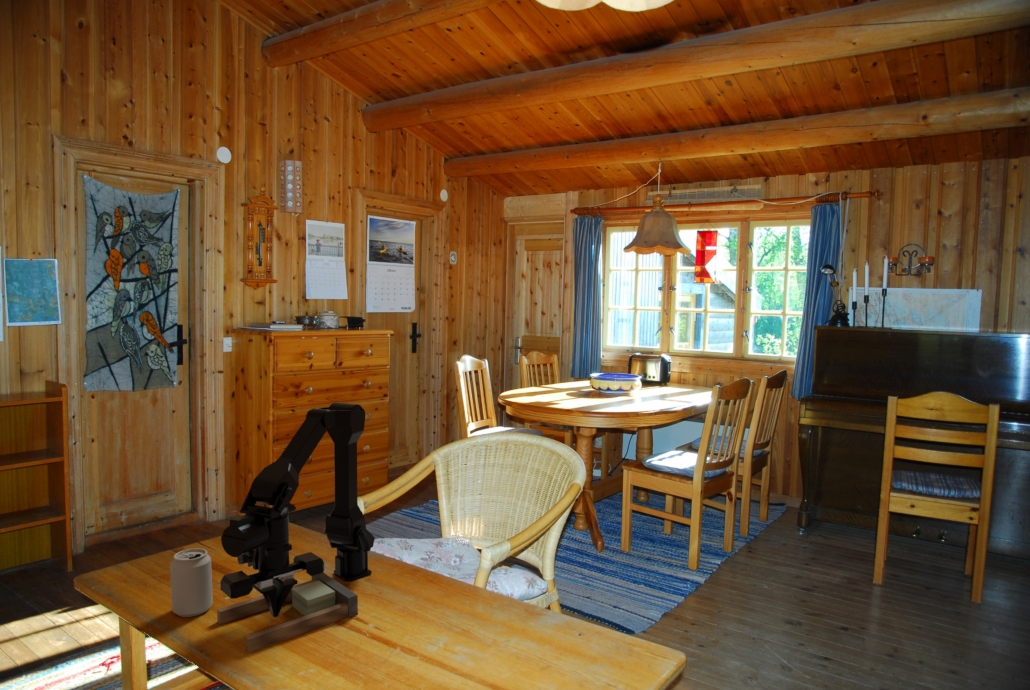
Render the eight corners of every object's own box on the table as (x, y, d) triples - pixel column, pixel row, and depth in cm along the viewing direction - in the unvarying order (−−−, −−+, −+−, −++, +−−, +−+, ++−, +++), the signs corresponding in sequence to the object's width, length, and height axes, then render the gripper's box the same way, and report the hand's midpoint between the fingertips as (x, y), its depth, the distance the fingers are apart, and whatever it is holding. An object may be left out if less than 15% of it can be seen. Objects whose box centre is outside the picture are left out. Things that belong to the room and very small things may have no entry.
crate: (319, 598, 147) (319, 580, 146) (335, 610, 141) (335, 591, 141) (292, 607, 142) (291, 588, 142) (307, 620, 137) (307, 600, 137)
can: (197, 620, 136) (194, 562, 135) (163, 617, 138) (161, 558, 137) (220, 603, 143) (218, 547, 142) (188, 600, 145) (186, 544, 144)
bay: (320, 588, 151) (320, 570, 151) (357, 614, 139) (357, 595, 139) (217, 621, 136) (216, 601, 136) (249, 653, 124) (248, 632, 124)
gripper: (299, 518, 146) (300, 589, 148) (208, 539, 134) (210, 616, 135) (325, 531, 138) (326, 607, 140) (230, 555, 126) (232, 638, 127)
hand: (274, 616), depth 135 cm, fingers closed
